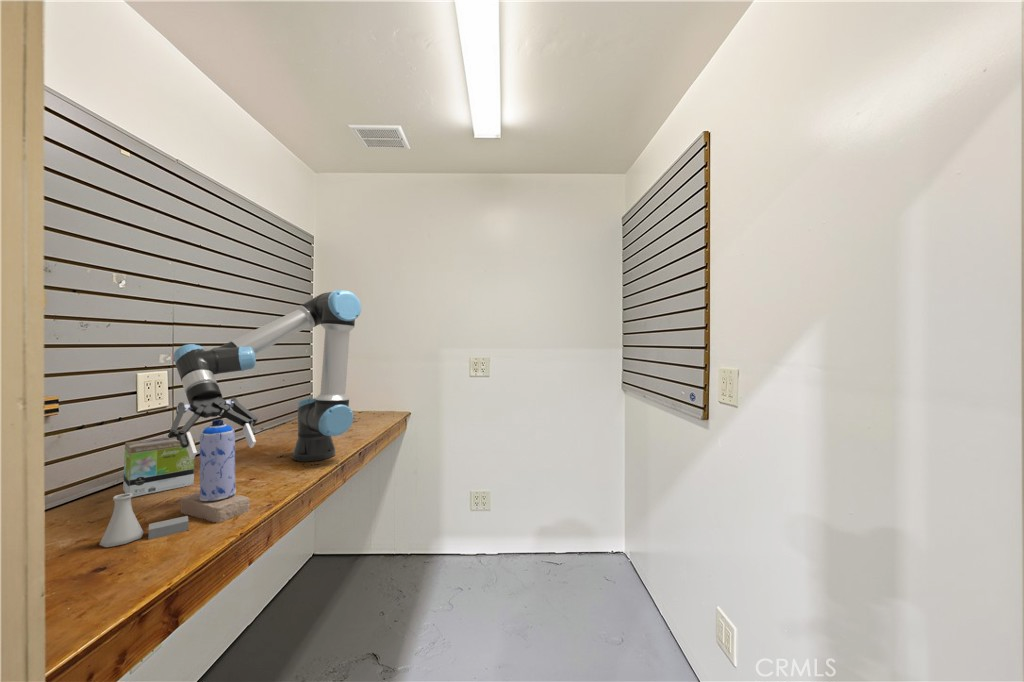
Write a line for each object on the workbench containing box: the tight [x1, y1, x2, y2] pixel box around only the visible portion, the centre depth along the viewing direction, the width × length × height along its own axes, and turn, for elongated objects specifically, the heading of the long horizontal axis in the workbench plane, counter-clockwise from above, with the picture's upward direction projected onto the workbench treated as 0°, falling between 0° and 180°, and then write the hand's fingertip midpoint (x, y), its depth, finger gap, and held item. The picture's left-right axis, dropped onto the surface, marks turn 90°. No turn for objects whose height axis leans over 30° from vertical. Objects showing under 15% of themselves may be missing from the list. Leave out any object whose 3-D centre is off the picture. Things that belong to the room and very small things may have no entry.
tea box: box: [122, 436, 196, 499], centre depth 122 cm, size 15×10×15 cm
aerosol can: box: [199, 418, 237, 501], centre depth 105 cm, size 8×8×20 cm
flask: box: [99, 493, 145, 548], centre depth 89 cm, size 7×7×10 cm
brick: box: [179, 490, 251, 524], centre depth 105 cm, size 17×8×5 cm, turn 67°
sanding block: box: [148, 515, 189, 541], centre depth 93 cm, size 7×4×2 cm, turn 131°
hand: (225, 450), depth 105 cm, fingers open, 13 cm apart
